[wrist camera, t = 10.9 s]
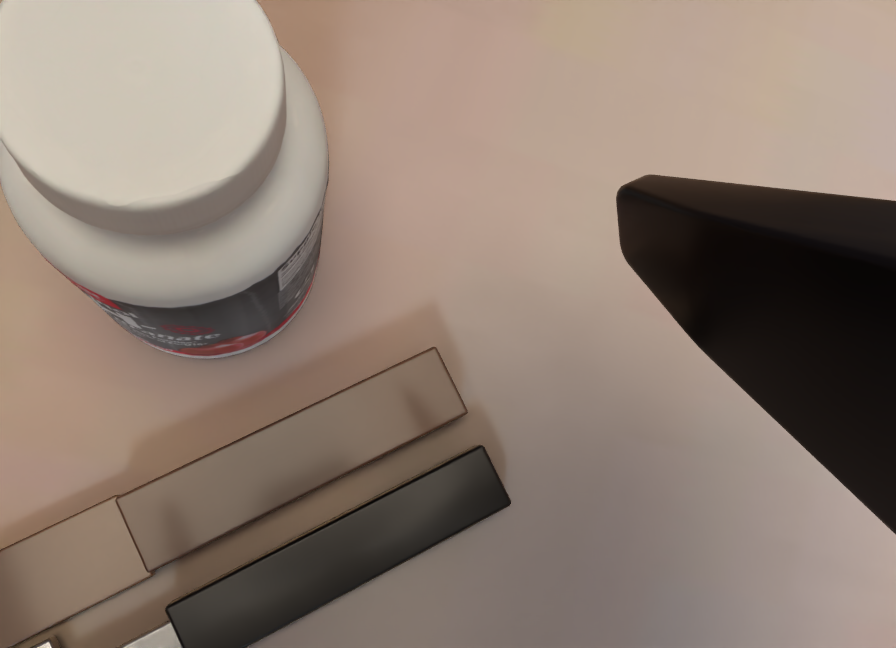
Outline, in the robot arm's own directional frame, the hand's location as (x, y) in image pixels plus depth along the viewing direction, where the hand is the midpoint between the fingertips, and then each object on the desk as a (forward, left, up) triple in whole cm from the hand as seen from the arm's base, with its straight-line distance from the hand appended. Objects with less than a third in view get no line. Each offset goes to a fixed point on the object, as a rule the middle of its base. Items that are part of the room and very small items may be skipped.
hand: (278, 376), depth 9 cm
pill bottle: (+4, -2, -12) cm, 13 cm away
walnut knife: (+1, +4, -12) cm, 12 cm away
